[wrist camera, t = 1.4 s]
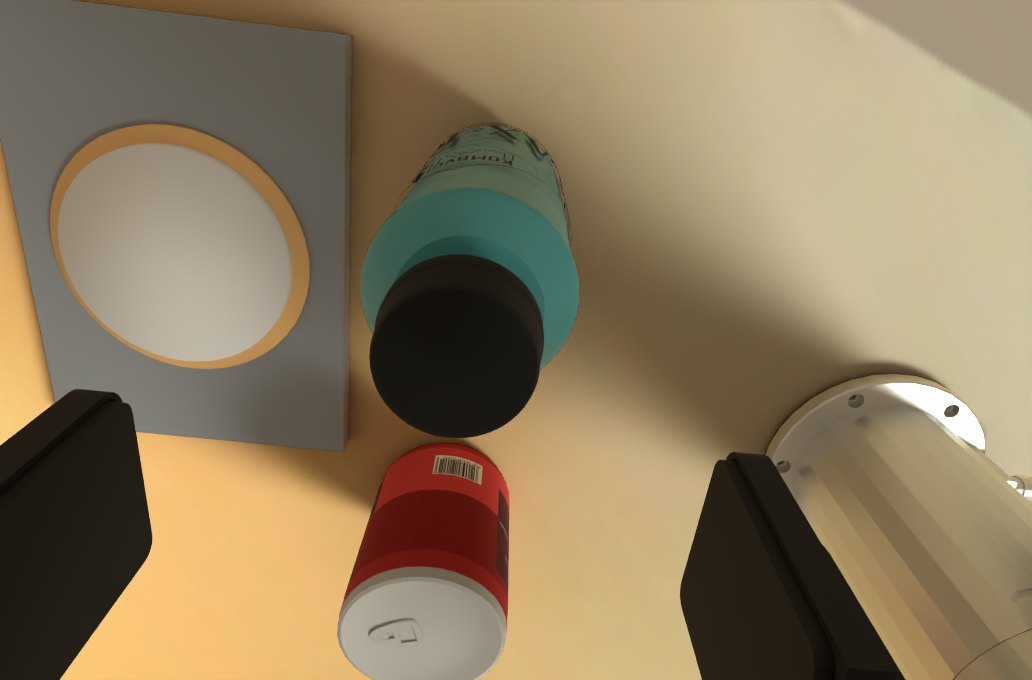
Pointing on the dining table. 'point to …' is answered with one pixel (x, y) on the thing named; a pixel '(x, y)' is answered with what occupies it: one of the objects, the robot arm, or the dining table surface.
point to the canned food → (431, 570)
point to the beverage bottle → (470, 285)
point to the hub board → (185, 214)
